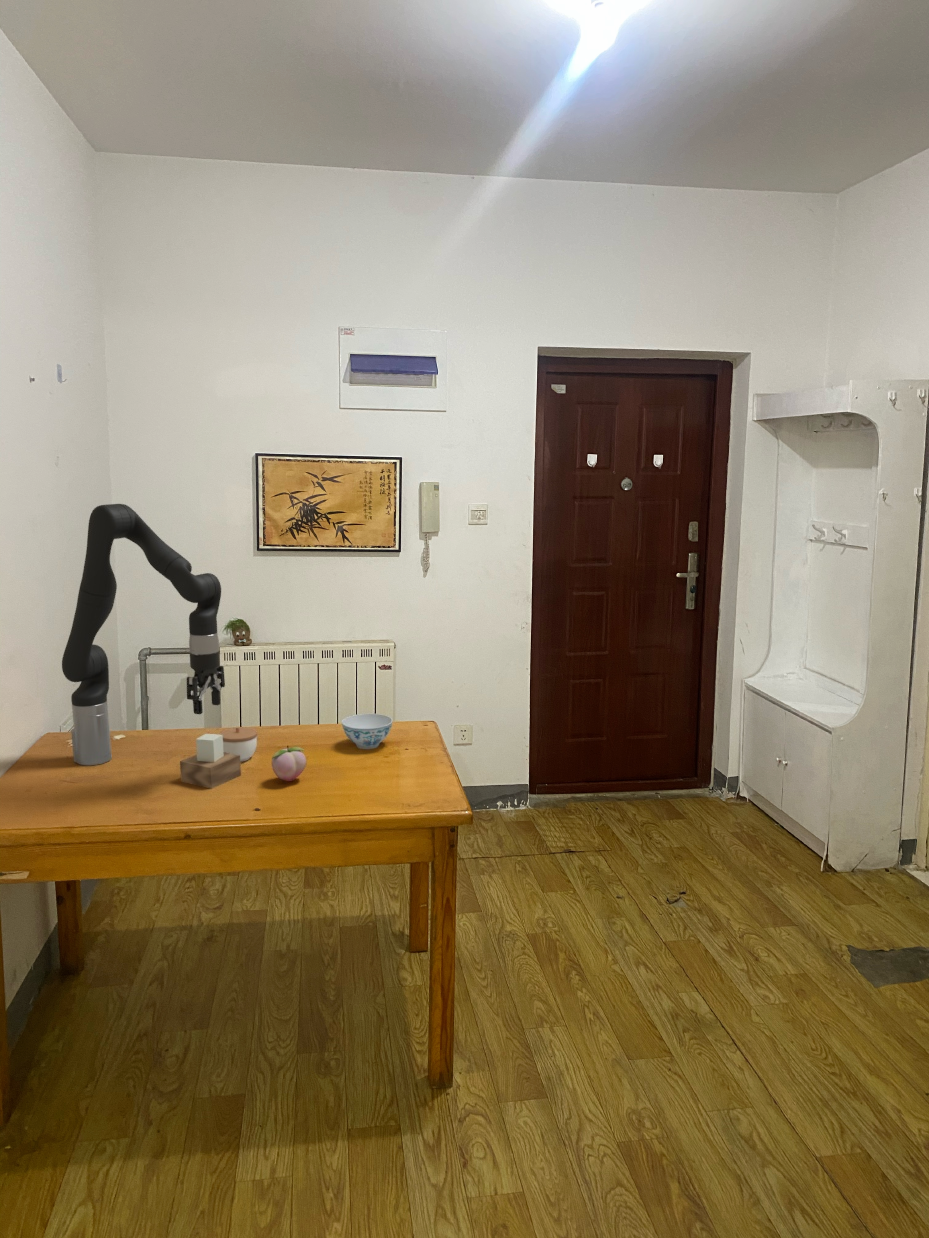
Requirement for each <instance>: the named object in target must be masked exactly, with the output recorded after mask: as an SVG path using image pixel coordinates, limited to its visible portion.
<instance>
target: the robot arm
mask: <svg viewBox="0 0 929 1238" xmlns="http://www.w3.org/2000/svg"><path fill="white" fill-rule="evenodd" d="M86 539H87V541H86V550H85V551H86V552H85V559H84V564H83V570H82V577H81V580H80V585H79V589H78V595H77V601H76V607H75V611H74V616H73V621H72V625H71V628H70V634H69V636H68V639H67V642H66V646H65V648H64V652H63V655H62V660H61V670H62V673H63V675H64V677H65V679H66V680H68V681H69V682H71V683H80V684H79V686H78V687H77V688H76V689H75V691H74V692H72V694H71V709H72V720H73V728H72V729H71V730H70V734H71V743H72V755H73V756H72V757H73V762H74V763H77V764H78V765H81V766H96V765H102V764H105V763H107V762H109V761H111V760H112V758H113V757H112V744H111V732H110V721H109V720H110V719H109V709H108V707H109V706H108V693H109V689H110V677H109V676H110V674H109V672H110V670H109V660H108V656H107V654H106V651H105V650H104V649H103V648H102V647H101V646H99V645H98V644H93V643H94V640H95V638H96V636H97V635H98V632H99V631H100V630H101V628H102V627H103V625H104V623H105V622H106V620H107V619H108V618H109V616H110V615H111V613H112V610H113V608H114V604H115V600H116V594H117V589H118V588H117V587H118V583H117V580H116V575H115V573H114V570H113V568H112V566H111V551H112V547H113V544H114V541H115V540H118V539H127V540H128V541H130V542H133V543H134V544H136V545H137V546H138V547H139V548H140V549H141V550H142V552H143V554H144V556H145V558H146V559H147V562H148V563H149V565H150V566H151V567H152V568H153V569H154V570H156V571H157V573H159V574H160V575H162V577H164V578H166V579H167V580H168V581H170V583H171V584H172V586H173V588H175V590H176V591H177V592H178V594H179V595H180V597H182V598H183V599H184V600H186V601H187V602H189V603H193V604H197V605H196V608H195V609H194V610H192V611H191V612H190V613H189V617H188V630H189V637H188V638H189V639H188V648H189V650H188V651H189V667H190V669H192V670H193V671H194V675H193V676H187V677H186V699H187V700H189V701H190V700H191V701H192V706H193V710H192V711H193V713H194V714H195V715H202V714H203V712H204V711H203V699H202V698H203V696H204V694H206V691H207V690H208V689H209V688H210V690H211V694H210V695H211V705H212V706H219V705H221V692H222V689H223V688H225V686H226V684H225V683H226V679H225V669H224V668H225V667H224V666H223V665H221V663H220V662H221V661H220V660H221V659H220V658H221V657H220V640H219V634H218V633H219V632H218V620H217V619H218V618H217V617H218V612H219V608H220V603H221V598H222V585H221V582H220V580H219V579H218V577H217V576H216V575H215V574H213V573H212V572H211V573H210V572H209V573H208V572H207V573H200V574H196V575H195V574H193V573H192V571H193V567H192V564H191V563H190V561H188V560H187V558H185V557H184V556H182V555H181V553H179V552H177V551H176V550H175V549H173V548H172V547H171V546H170V545H168V544H167V543H166V542H165V541H164V540H163V539H162V538H160V537H159V536H158V534H157V533H155V531H153V529H151V527H150V526H149V525H148V524H147V523H146V521H144V519H142V517H141V516H140V515H139V514H138V513H137V512H136V511H135V510H134V509H133V508H132V507H131V506H129V505H127V504H123V503H111V504H110V503H109V504H101V505H100V504H99V505H97V506H96V507H94V508H93V510H92V512H91V514H90V516H89V520H88V526H87V538H86Z"/></svg>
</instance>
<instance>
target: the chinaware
mask: <svg viewBox="0 0 929 1238" xmlns="http://www.w3.org/2000/svg"><path fill="white" fill-rule="evenodd" d="M341 725H342V729H343V732H344V734H345V736H346V737H347V738H348V740H350V742H352V743H354V744H355V745H356V747H357V748H358V749H361V750H362V749H363V750H372V749H376V748H378V747H379V746H380V743H382V742H383V741H384V740H385V739H386V738H387V737H388V735H389V734H390V731H391V729H392V725H393V718H392V717H391V716H388V715H386V714H381V713H359V714H354V715H350V716H347V717H344V718H343V719H342V720H341Z"/></svg>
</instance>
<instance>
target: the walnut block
mask: <svg viewBox="0 0 929 1238" xmlns="http://www.w3.org/2000/svg"><path fill="white" fill-rule="evenodd" d="M223 753H224V756H223V757H222V758H220V759H219V760H217V761H216V762H206V761H197V754H195V755H192V756H189V757H187V758H184V759H182V760H179V765H180V767H179V768H180V781H181V782H182V783H186V784H191V785H195V786H199V787H203V788H207V789H214V788H216V787H219V786H220V785H223V784H225V783H227V782H230V781H232V780H234V779H236V778H239V777H241V776H242V770H241V769H242V767H241V762H240V755H235V754H230V753H226V752H223Z"/></svg>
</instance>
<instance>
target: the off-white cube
mask: <svg viewBox="0 0 929 1238" xmlns="http://www.w3.org/2000/svg"><path fill="white" fill-rule="evenodd" d="M195 742H196V743H195V745H196V755H197V761H206V762H216V761H217V760H219V759H220V758H222V757H223V756H224V753H223V735H219V733H218V734H216V733H204V734H203V735H201V736H199V737H197V738H196V739H195Z"/></svg>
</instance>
